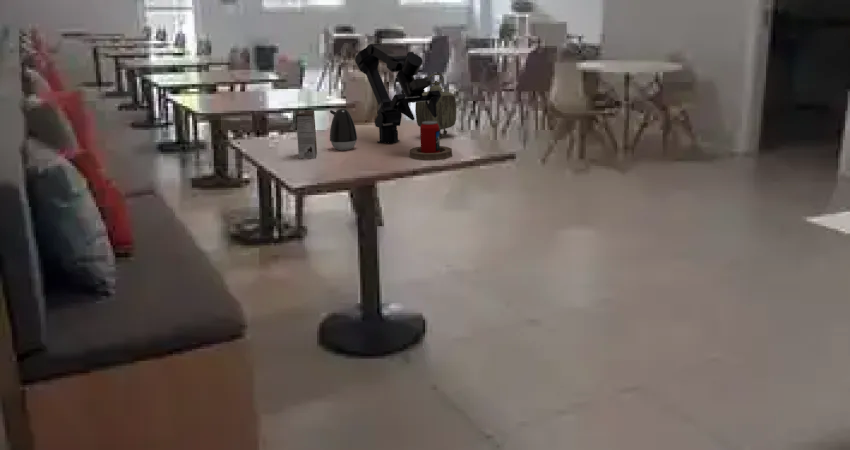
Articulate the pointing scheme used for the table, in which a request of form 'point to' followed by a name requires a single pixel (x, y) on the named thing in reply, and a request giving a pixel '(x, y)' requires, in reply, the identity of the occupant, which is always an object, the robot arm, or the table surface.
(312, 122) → the coffee box
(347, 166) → the table surface
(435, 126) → the beverage can
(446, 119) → the tabletop clock
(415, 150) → the walnut ring
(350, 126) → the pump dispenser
